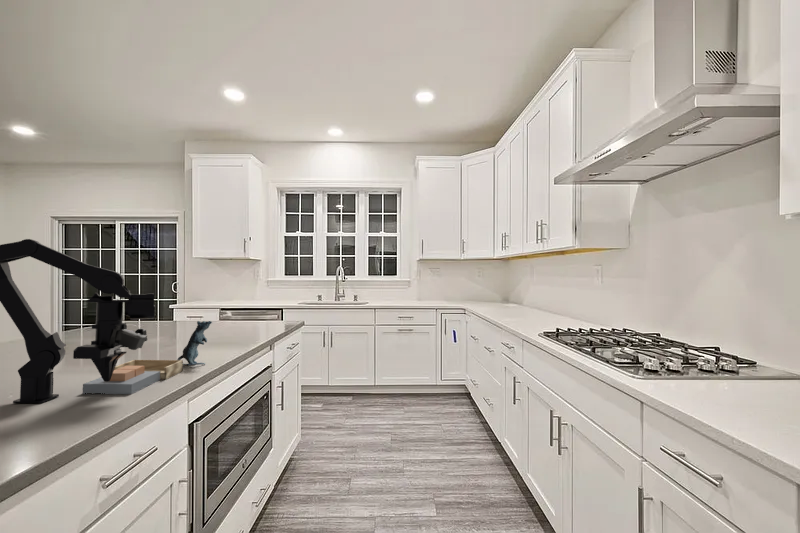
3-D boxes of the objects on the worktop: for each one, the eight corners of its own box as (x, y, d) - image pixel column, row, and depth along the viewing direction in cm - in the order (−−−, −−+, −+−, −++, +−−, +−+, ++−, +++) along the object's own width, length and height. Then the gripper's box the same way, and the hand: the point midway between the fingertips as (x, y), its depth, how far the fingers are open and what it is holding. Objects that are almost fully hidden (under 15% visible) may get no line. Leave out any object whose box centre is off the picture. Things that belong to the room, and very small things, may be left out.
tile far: (135, 376, 125) (135, 369, 125) (116, 376, 125) (116, 369, 125) (144, 372, 130) (144, 365, 130) (126, 372, 130) (126, 365, 130)
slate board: (131, 394, 116) (131, 384, 116) (82, 393, 116) (82, 384, 116) (159, 379, 132) (160, 371, 132) (117, 379, 132) (117, 371, 132)
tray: (165, 379, 133) (166, 367, 133) (112, 379, 132) (112, 367, 132) (182, 371, 145) (182, 360, 145) (133, 370, 144) (134, 359, 144)
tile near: (124, 381, 120) (125, 373, 120) (105, 380, 119) (105, 373, 119) (134, 376, 125) (134, 369, 125) (115, 376, 124) (115, 369, 124)
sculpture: (203, 367, 151) (205, 322, 152) (171, 366, 151) (173, 321, 152) (214, 362, 160) (215, 320, 160) (183, 362, 160) (185, 319, 160)
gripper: (122, 324, 107) (119, 390, 107) (158, 317, 126) (156, 373, 126) (73, 323, 107) (70, 390, 106) (116, 316, 125) (114, 373, 125)
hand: (107, 381), depth 116 cm, fingers closed
